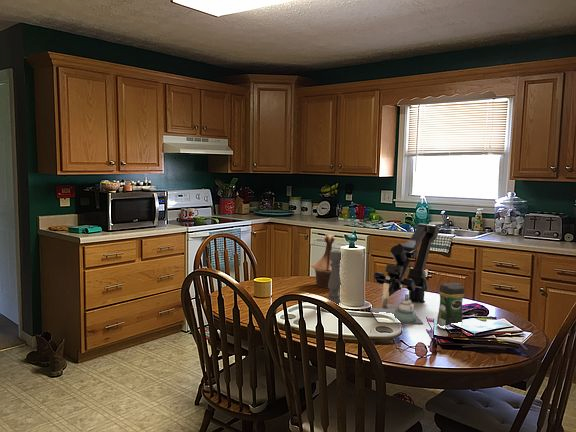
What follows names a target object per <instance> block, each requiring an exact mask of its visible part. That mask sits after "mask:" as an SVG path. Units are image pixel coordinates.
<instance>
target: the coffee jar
mask: <svg viewBox="0 0 576 432" xmlns="http://www.w3.org/2000/svg"><path fill="white" fill-rule="evenodd" d="M438 294H439V307H438V313H437V320H436V325H437V324H439V325H440V326H444V325H448V324H451V323H458V322H462V323H463V299H464V296H465V287H464V284H461V283H459V282H448V283H441V284H440V285H439V290H438Z"/></svg>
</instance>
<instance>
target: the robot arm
mask: <svg viewBox="0 0 576 432" xmlns="http://www.w3.org/2000/svg"><path fill="white" fill-rule="evenodd" d="M439 233H440V228H439V227H438V225H437V224H430V223H429V224H428V223H420V222H419V223H418V224H417V226H416V229H415V231H414V232H413V234H412V235H411V237H410V238H409V240H408V241H406V242H404V243H397V244H396V245H394V246H392V247H391V248H390V254H391V255H392V258H393V259H394V261H395V264H394V265H392V264H388V263H387V264H386V265H385V270H384V271H385V272H386V273H387V275H385V274H384V272H380V271H376V272H374V273H373V274H372V275H373V278H374V280H375V282H376V283H377V284H380V285H383V283H389V297H390V296H391V295H393V294H394V293H396V292H398V291H402V287H406V289H407V291H408V299H409V300H411V303H412V302H413V303H425V302H426V301H425V291H428V287H429V284H428V280H427V275H426V271H425V268H426V265H427V261H428V258H429V254H430V249H431V246H432V243H433V242H434V241H436V240H437V237H438V235H439ZM419 246H420V247H419ZM418 248H419V250H418ZM415 258H416V260H415V264H414V267H412V264H411V261H410V260H414V259H415ZM411 267H412V268H411ZM409 268H410V269H409ZM408 269H409V270H408ZM407 271H409V272H408V274H406V273H407Z"/></svg>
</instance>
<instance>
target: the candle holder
mask: <svg viewBox="0 0 576 432" xmlns="http://www.w3.org/2000/svg"><path fill="white" fill-rule="evenodd" d="M341 251H342V250H338V249H337V250H336V249H332V250H331V251H330V258H331V262H332V263H331V264H330V266H331V267H332V268H331V276H330V279H329V283H328V287H329V288H328V289H329V292H328V293H327V296H326V297H327V298H326V300H327V299H329V300H331V301H333V302H335V303H336V304H338V305H339V303H340V304H341V301H340V298H341V294H340V289H341V288H340V285H341V286H342V281H341V280H342V279H341V275H340V271H341V270H340V264H341V262H340V260H341ZM341 261H342V260H341Z"/></svg>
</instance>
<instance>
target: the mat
mask: <svg viewBox="0 0 576 432" xmlns="http://www.w3.org/2000/svg"><path fill="white" fill-rule="evenodd" d="M370 308H371V309H370V310H369V311H370V312H375V313H379V312H386V313H392V314H394V313H395V310H397V309H394V308H388V309H383V308H382V307H370ZM400 322H401V321H400ZM401 324H405V325H407V324H408V325H424V322H423V320H422V319H420V318H419V316H418V315H417V314H416V321H415V322H401ZM401 324H400V325H401Z"/></svg>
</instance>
